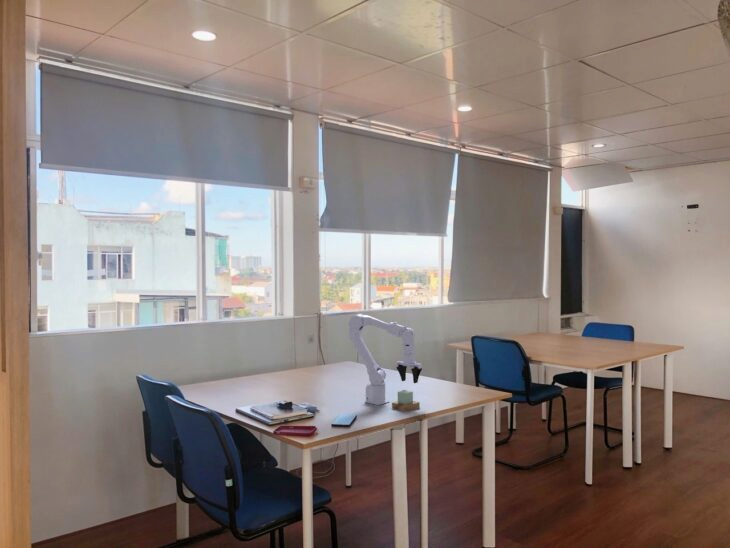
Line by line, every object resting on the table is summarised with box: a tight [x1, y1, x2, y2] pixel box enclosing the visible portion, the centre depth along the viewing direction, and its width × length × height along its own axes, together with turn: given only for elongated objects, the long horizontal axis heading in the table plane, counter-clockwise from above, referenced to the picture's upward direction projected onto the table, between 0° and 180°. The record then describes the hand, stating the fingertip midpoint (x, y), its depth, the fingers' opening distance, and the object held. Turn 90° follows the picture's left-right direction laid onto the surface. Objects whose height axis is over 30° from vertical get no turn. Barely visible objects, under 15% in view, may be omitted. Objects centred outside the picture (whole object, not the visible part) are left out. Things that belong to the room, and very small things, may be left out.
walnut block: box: [391, 400, 420, 413], centre depth 269 cm, size 9×9×3 cm
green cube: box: [397, 389, 414, 404], centre depth 269 cm, size 5×5×5 cm
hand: (409, 381), depth 277 cm, fingers open, 7 cm apart
